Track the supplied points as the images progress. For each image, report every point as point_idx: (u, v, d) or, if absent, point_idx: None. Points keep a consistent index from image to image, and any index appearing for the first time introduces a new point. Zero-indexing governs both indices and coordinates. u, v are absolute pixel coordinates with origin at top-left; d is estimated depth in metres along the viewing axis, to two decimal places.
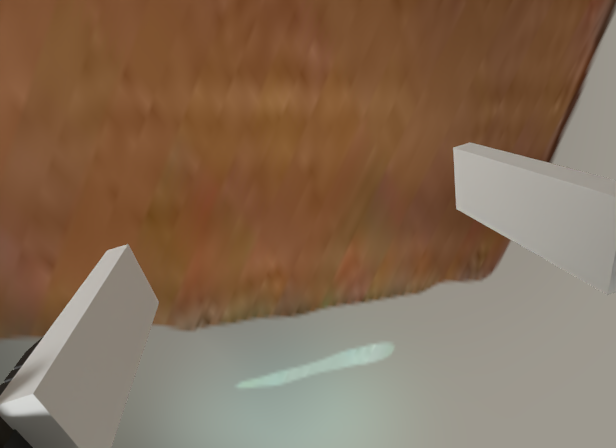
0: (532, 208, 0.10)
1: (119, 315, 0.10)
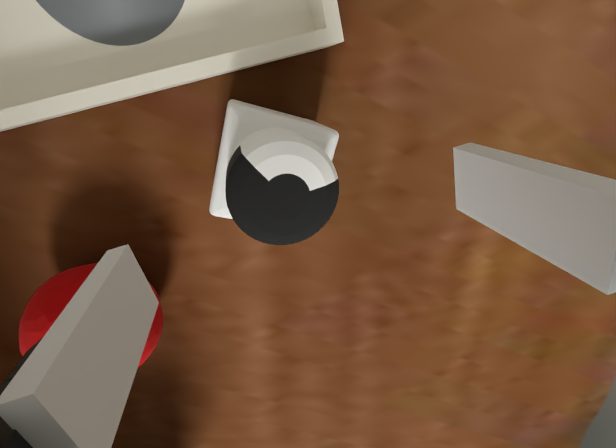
0: (532, 208, 0.10)
1: (119, 315, 0.10)
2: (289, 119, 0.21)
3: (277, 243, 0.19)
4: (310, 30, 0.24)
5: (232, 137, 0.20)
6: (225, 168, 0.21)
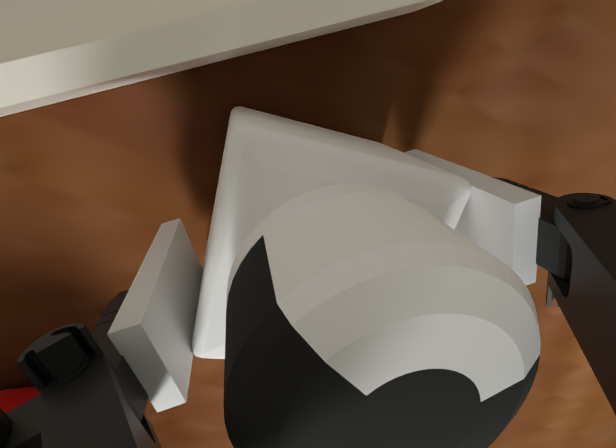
0: None
1: (181, 277, 0.11)
2: (372, 158, 0.09)
3: None
4: None
5: (240, 204, 0.09)
6: (225, 269, 0.09)
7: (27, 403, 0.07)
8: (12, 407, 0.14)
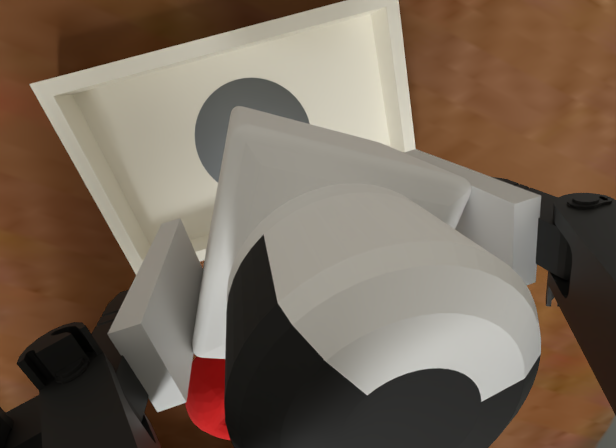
0: None
1: (181, 277, 0.11)
2: (372, 158, 0.09)
3: None
4: None
5: (241, 204, 0.09)
6: (225, 269, 0.09)
7: (27, 403, 0.07)
8: None
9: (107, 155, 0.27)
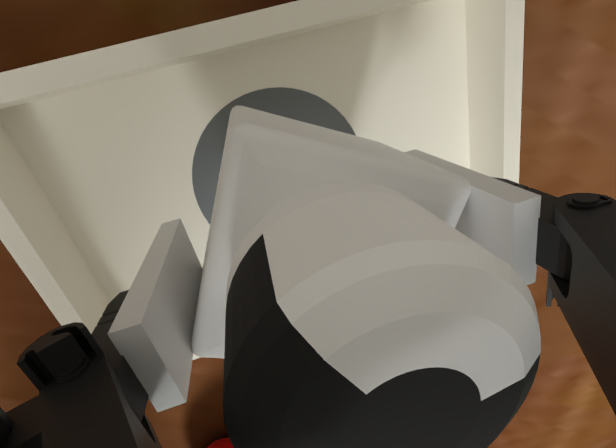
0: None
1: (182, 277, 0.11)
2: (372, 157, 0.09)
3: None
4: None
5: (240, 203, 0.09)
6: (225, 268, 0.09)
7: (27, 403, 0.07)
8: None
9: (56, 203, 0.18)
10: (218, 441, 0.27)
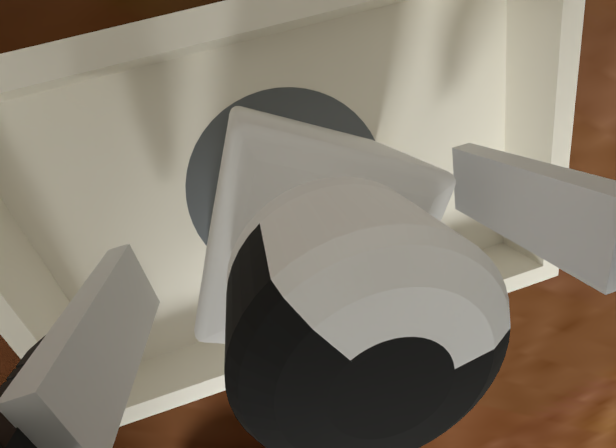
0: (530, 208, 0.10)
1: (120, 314, 0.10)
2: (361, 153, 0.10)
3: None
4: (498, 239, 0.21)
5: (239, 196, 0.09)
6: (225, 258, 0.10)
7: None
8: None
9: (25, 224, 0.15)
10: None
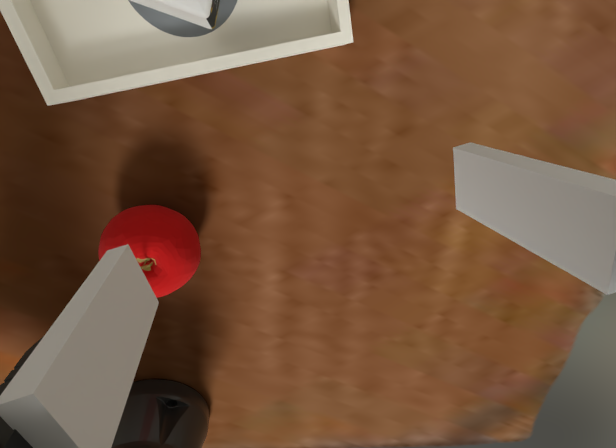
0: (532, 208, 0.10)
1: (119, 315, 0.10)
2: None
3: None
4: (328, 32, 0.32)
5: None
6: None
7: None
8: (162, 206, 0.34)
9: None
10: None
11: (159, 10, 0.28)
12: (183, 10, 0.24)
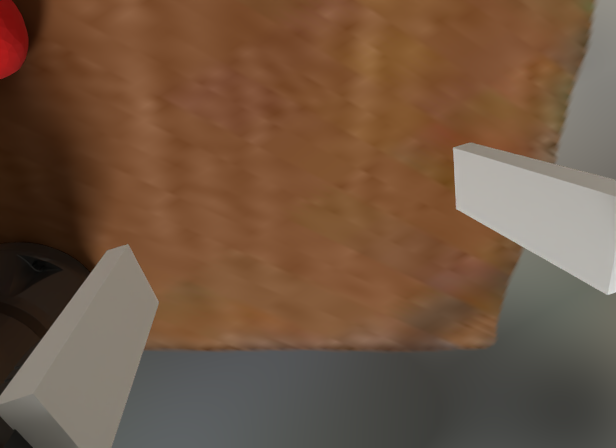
0: (532, 208, 0.10)
1: (119, 315, 0.10)
2: None
3: None
4: None
5: None
6: None
7: None
8: None
9: None
10: None
11: None
12: None
